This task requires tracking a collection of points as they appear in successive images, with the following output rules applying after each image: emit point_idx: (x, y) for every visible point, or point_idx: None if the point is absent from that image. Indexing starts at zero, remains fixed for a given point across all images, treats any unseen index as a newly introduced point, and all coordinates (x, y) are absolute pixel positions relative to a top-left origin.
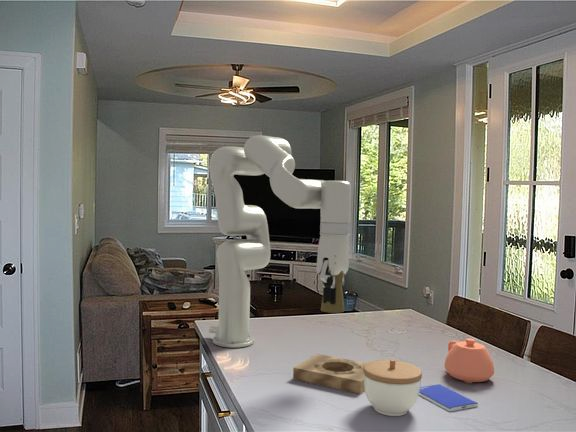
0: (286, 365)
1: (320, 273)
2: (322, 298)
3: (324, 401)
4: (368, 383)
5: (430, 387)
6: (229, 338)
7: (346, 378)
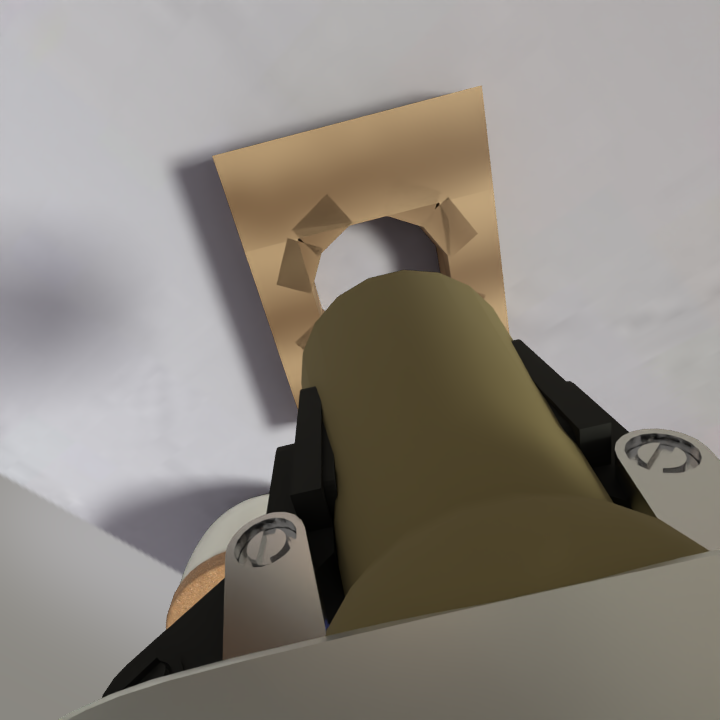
0: None
1: (206, 694)
2: (346, 354)
3: (165, 385)
4: (181, 579)
5: None
6: None
7: (293, 396)
